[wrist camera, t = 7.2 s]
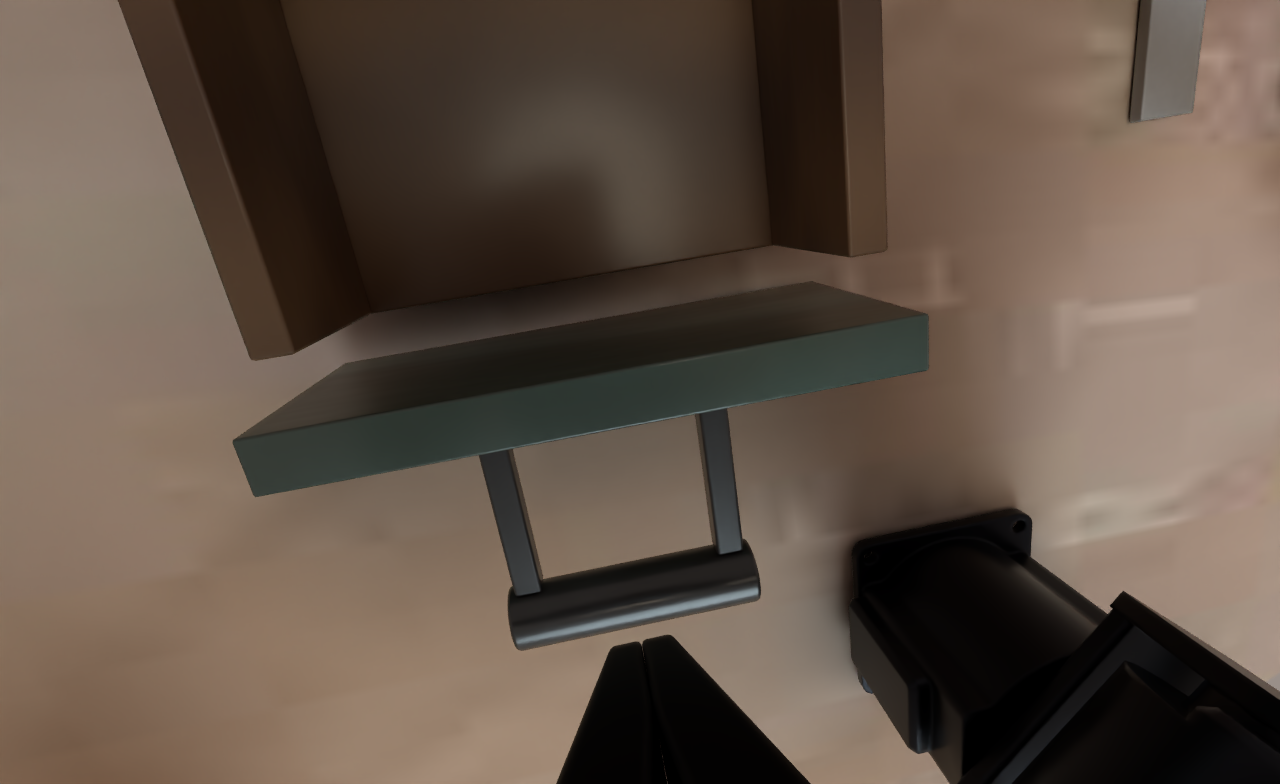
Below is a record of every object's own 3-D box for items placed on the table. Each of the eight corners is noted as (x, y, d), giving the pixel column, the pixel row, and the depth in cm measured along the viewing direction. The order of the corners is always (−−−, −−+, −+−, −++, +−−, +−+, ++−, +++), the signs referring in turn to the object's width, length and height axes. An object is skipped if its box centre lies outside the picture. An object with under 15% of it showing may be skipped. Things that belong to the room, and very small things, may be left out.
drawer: (825, 470, 19) (932, 577, 13) (404, 553, 18) (332, 705, 13) (788, -104, 14) (930, -305, 9) (218, -29, 13) (-30, -202, 8)
